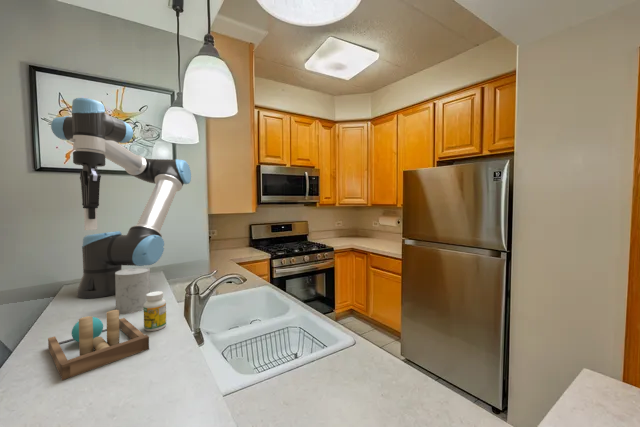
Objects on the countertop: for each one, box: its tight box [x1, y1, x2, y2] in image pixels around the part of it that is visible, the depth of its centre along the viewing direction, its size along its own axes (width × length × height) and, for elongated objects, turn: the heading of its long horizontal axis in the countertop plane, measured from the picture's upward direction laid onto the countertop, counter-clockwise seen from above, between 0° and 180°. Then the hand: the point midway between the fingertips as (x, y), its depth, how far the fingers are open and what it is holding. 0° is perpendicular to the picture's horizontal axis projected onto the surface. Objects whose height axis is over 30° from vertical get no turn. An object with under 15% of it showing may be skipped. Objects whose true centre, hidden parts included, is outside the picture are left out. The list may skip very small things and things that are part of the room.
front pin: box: [93, 336, 110, 351], centre depth 63 cm, size 2×2×8 cm
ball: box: [71, 316, 104, 343], centre depth 68 cm, size 6×6×6 cm
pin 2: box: [105, 309, 120, 346], centre depth 66 cm, size 2×2×8 cm
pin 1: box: [78, 315, 94, 356], centre depth 62 cm, size 2×2×8 cm
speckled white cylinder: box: [115, 267, 151, 315], centre depth 90 cm, size 10×10×12 cm
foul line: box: [58, 328, 107, 345], centre depth 71 cm, size 1×13×1 cm, turn 141°
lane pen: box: [47, 317, 150, 381], centre depth 65 cm, size 18×15×3 cm
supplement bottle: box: [143, 290, 167, 332], centre depth 76 cm, size 5×5×10 cm
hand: (91, 229), depth 84 cm, fingers closed
